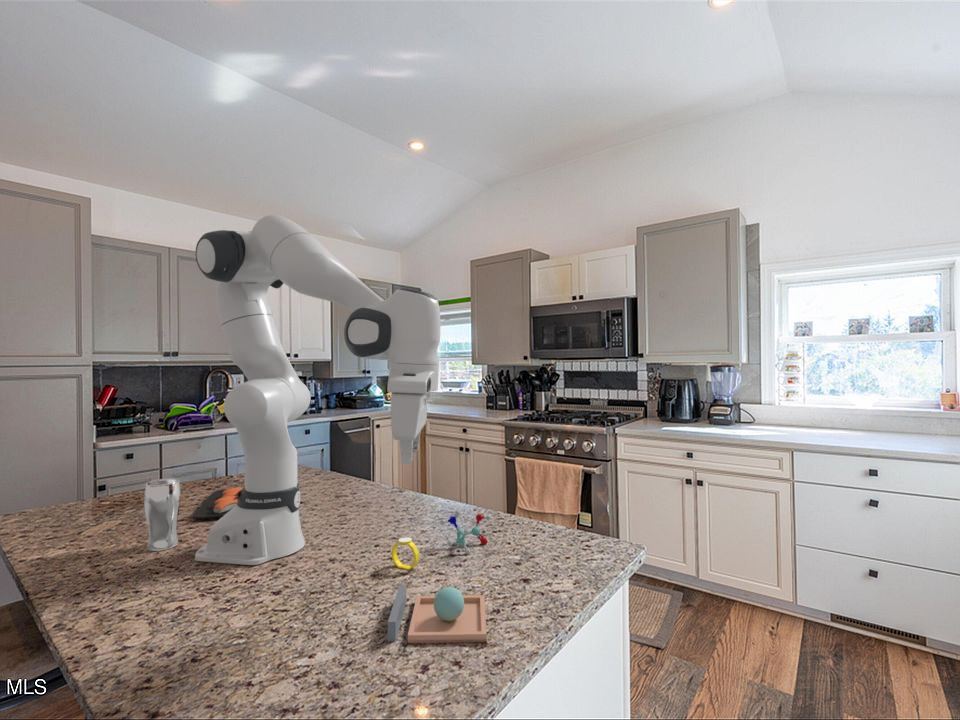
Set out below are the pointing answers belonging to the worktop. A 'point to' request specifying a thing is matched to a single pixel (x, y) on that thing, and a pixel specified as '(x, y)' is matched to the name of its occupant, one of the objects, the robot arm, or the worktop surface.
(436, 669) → the worktop surface
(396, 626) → the block
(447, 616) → the ball
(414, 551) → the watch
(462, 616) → the dish
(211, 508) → the sushi plate
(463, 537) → the molecular model
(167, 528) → the beer glass
